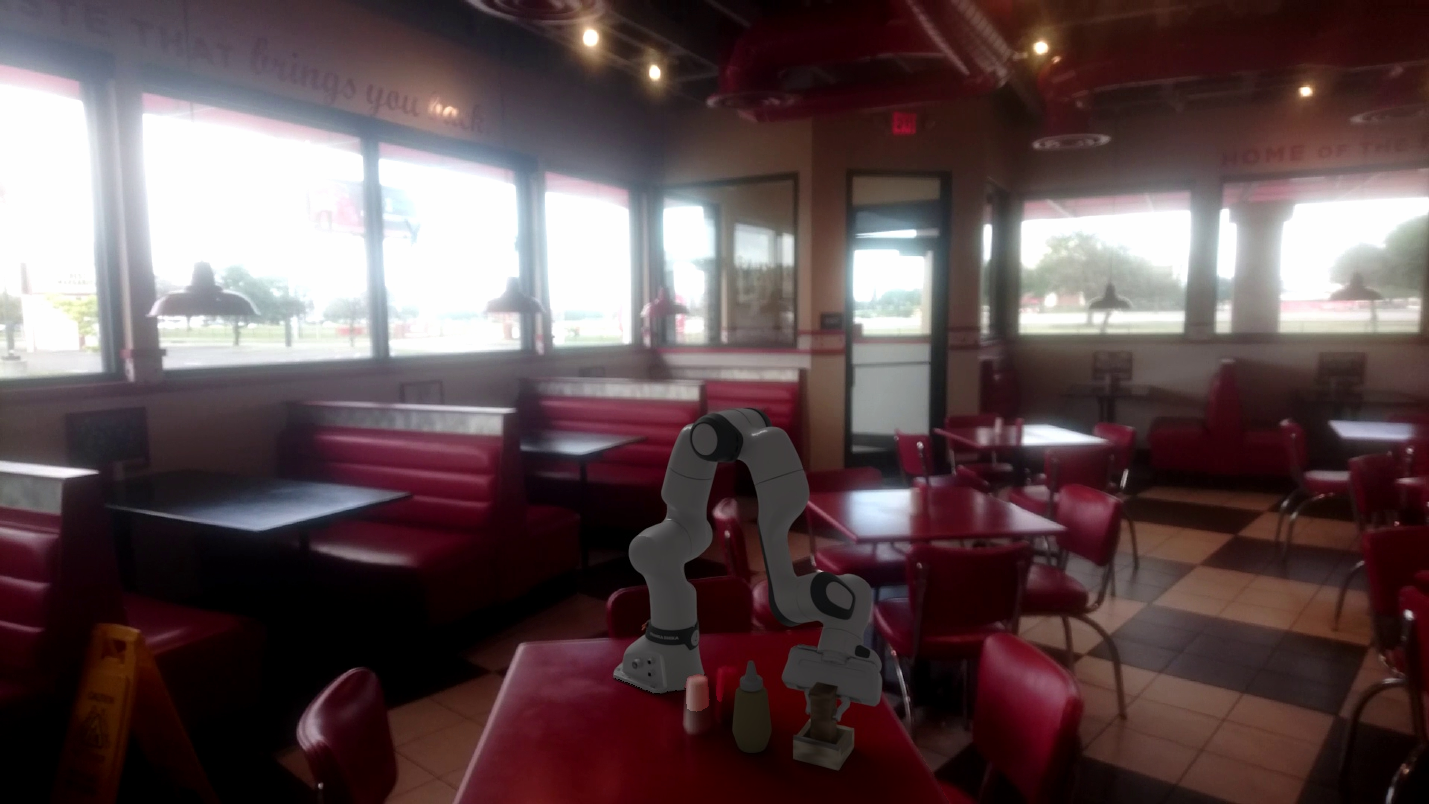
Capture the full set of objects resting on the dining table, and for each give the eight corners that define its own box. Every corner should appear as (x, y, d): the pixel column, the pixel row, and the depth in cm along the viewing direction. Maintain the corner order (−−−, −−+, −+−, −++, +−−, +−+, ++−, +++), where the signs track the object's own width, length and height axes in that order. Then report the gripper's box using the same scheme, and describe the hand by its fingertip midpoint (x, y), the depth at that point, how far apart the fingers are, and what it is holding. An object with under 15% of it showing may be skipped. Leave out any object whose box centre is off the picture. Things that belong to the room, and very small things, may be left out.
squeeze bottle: (769, 758, 161) (768, 672, 159) (729, 755, 163) (727, 669, 161) (774, 737, 169) (773, 654, 167) (736, 734, 171) (734, 652, 169)
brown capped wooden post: (809, 748, 162) (809, 690, 161) (817, 738, 166) (817, 681, 165) (830, 753, 160) (830, 695, 159) (837, 743, 164) (837, 686, 162)
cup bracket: (793, 758, 161) (793, 735, 161) (810, 736, 169) (810, 714, 169) (838, 770, 157) (838, 747, 156) (854, 747, 165) (854, 724, 164)
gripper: (788, 636, 172) (769, 700, 164) (883, 653, 162) (868, 722, 155) (796, 648, 176) (778, 711, 169) (889, 666, 167) (875, 734, 159)
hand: (822, 717), depth 162 cm, fingers closed on brown capped wooden post, 4 cm apart
